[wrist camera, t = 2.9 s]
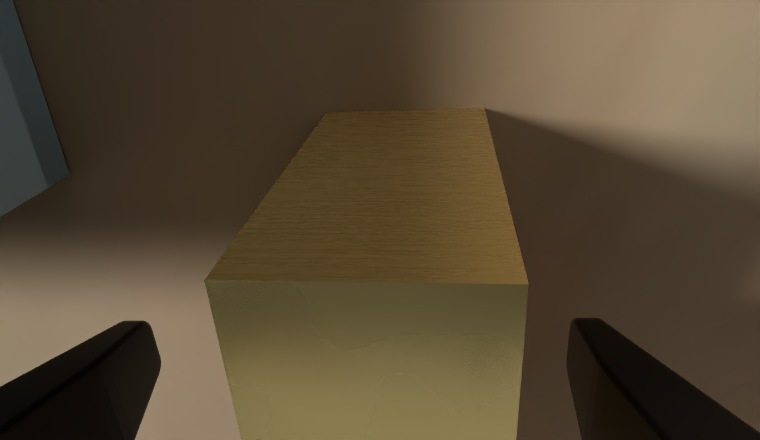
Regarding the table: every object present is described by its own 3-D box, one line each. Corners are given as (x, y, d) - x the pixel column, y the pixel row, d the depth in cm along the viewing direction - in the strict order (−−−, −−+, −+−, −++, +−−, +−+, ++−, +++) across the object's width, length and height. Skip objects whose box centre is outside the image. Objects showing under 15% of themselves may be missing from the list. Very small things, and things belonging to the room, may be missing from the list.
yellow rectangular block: (475, 396, 11) (495, 696, 7) (354, 391, 11) (297, 675, 7) (484, 107, 8) (528, 283, 4) (327, 111, 9) (205, 280, 4)
